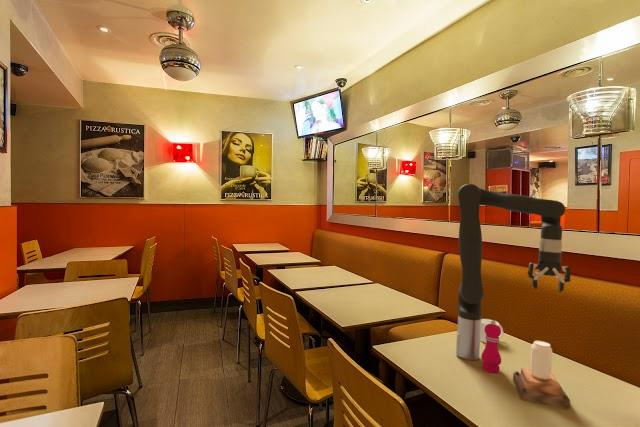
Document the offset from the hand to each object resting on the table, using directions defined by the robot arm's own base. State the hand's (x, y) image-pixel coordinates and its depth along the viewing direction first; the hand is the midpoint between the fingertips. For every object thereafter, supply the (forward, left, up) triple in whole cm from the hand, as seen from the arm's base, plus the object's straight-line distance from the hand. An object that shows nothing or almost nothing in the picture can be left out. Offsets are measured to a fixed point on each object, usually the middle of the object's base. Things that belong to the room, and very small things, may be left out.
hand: (547, 290), depth 138 cm
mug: (-16, +26, -33) cm, 45 cm away
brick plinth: (-6, -21, -33) cm, 40 cm away
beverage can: (-6, -21, -27) cm, 35 cm away
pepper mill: (-20, -8, -33) cm, 40 cm away
